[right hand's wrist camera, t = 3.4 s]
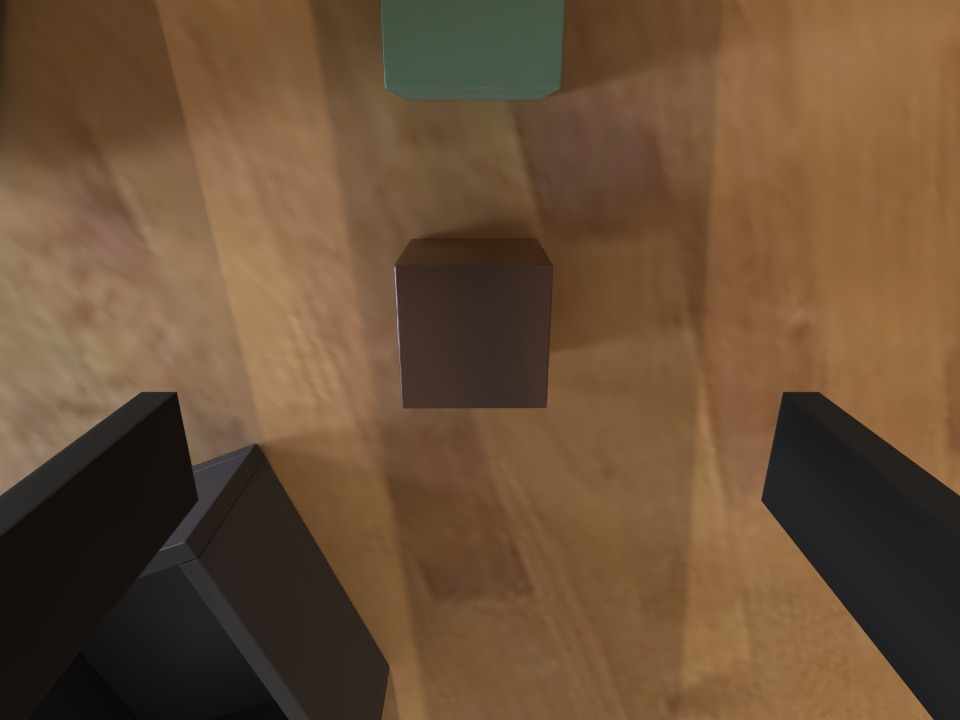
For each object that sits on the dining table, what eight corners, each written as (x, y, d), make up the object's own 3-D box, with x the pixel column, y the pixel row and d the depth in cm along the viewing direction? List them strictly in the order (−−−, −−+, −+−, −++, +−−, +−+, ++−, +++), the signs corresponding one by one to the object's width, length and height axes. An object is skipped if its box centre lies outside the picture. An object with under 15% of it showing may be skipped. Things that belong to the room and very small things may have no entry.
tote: (-78, 804, 35) (-206, 958, 28) (-271, 632, 30) (-481, 771, 23) (390, 666, 31) (367, 808, 24) (257, 442, 26) (183, 545, 19)
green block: (404, 100, 21) (384, 88, 16) (397, -66, 19) (372, -131, 14) (542, 100, 21) (561, 89, 16) (548, -65, 19) (571, -131, 14)
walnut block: (415, 357, 24) (401, 409, 20) (410, 239, 23) (394, 264, 18) (533, 356, 25) (546, 408, 20) (537, 239, 23) (553, 264, 18)
